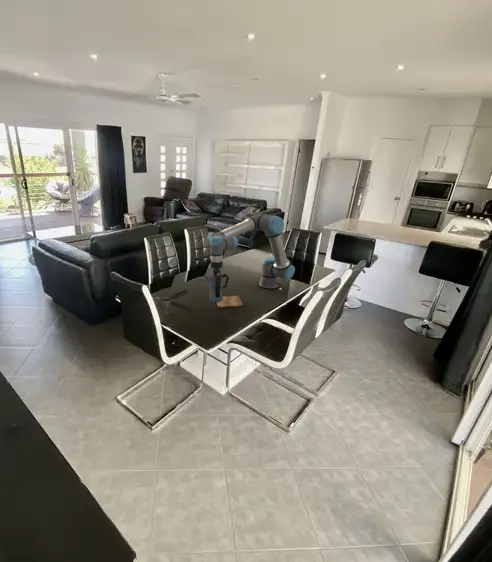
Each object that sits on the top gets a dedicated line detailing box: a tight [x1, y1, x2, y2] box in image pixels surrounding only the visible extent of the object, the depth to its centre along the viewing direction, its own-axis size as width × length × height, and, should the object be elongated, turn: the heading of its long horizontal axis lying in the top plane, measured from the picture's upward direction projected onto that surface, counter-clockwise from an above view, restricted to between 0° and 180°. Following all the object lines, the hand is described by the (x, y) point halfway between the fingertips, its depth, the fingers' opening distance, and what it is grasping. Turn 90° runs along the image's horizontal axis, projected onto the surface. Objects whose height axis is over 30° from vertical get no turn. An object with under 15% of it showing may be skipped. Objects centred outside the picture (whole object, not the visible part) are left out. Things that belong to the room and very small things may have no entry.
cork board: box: [216, 295, 244, 309], centre depth 232 cm, size 18×16×1 cm
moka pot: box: [203, 271, 230, 304], centre depth 206 cm, size 10×15×20 cm, turn 95°
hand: (216, 294), depth 208 cm, fingers closed on moka pot, 8 cm apart
